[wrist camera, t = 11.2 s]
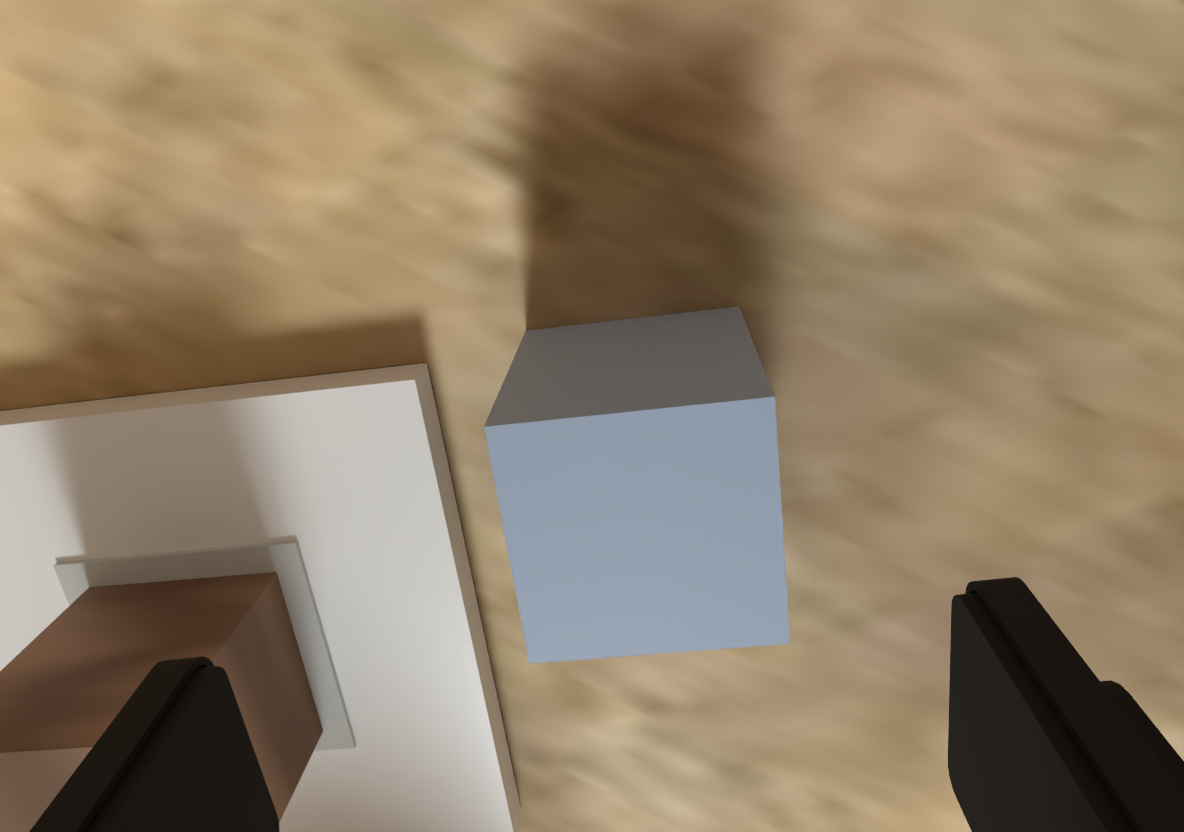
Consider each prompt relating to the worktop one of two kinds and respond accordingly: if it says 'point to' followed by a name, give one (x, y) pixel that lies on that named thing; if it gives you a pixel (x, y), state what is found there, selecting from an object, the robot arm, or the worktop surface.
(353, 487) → the plate
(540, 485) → the block blue
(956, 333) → the worktop surface
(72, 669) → the block walnut
